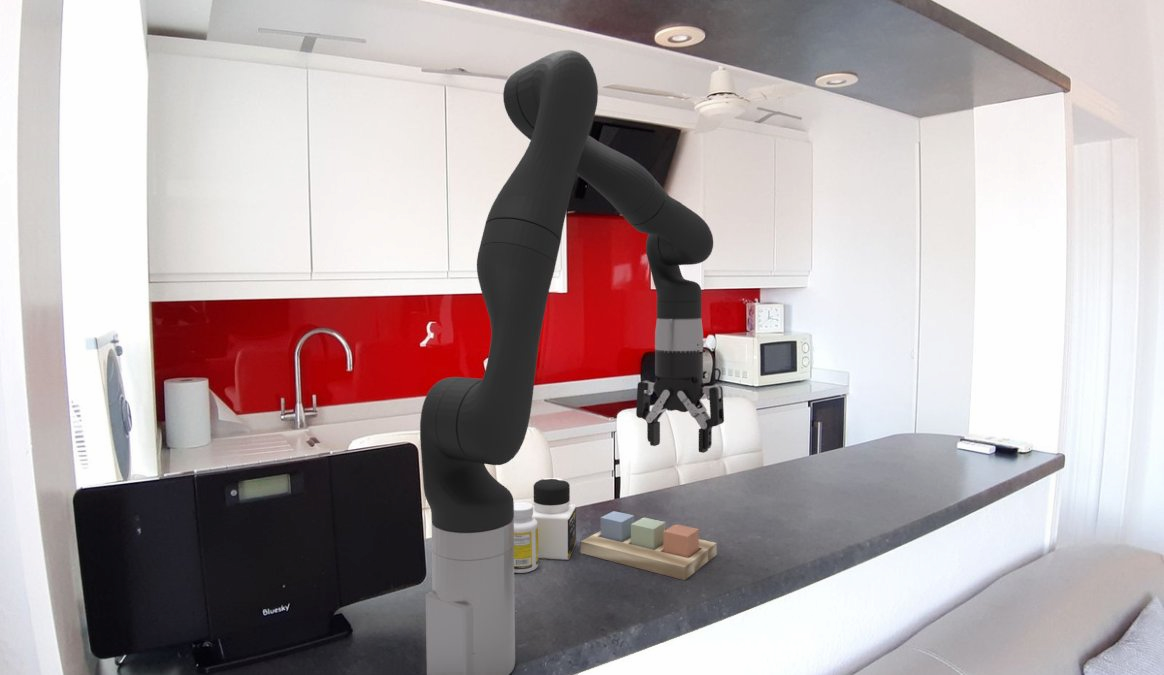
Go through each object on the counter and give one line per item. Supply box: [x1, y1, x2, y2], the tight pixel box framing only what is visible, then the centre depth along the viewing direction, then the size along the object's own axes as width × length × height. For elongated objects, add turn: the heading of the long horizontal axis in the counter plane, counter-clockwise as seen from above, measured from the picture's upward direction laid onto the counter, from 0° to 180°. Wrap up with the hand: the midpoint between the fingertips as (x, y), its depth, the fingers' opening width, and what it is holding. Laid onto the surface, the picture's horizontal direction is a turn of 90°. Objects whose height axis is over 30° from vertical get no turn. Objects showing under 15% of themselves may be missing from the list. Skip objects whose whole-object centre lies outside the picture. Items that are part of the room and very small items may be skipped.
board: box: [580, 530, 718, 581], centre depth 109 cm, size 12×19×2 cm, turn 55°
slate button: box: [599, 510, 635, 542], centre depth 113 cm, size 4×4×4 cm
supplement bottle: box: [514, 502, 539, 574], centre depth 104 cm, size 5×5×10 cm
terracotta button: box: [663, 524, 700, 558], centre depth 106 cm, size 4×4×4 cm
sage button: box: [631, 516, 667, 550], centre depth 109 cm, size 4×4×4 cm
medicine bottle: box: [532, 477, 577, 561], centre depth 110 cm, size 7×7×12 cm
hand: (678, 448), depth 105 cm, fingers open, 8 cm apart
